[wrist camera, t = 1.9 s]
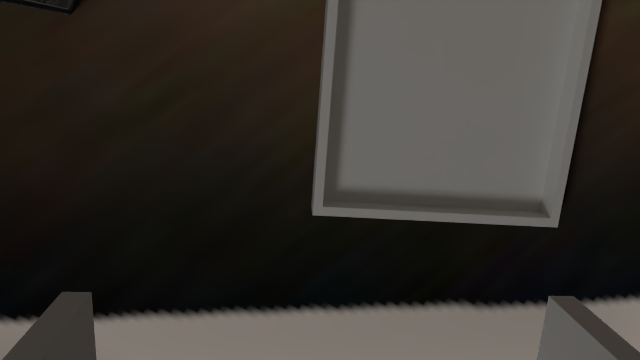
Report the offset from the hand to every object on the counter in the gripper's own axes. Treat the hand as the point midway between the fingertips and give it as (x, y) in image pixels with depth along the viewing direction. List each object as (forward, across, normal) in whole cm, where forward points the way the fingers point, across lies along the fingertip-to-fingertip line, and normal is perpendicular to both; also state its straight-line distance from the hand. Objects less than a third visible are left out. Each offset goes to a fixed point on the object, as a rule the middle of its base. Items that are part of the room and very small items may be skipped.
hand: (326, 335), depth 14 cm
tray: (+30, +13, +6) cm, 33 cm away
